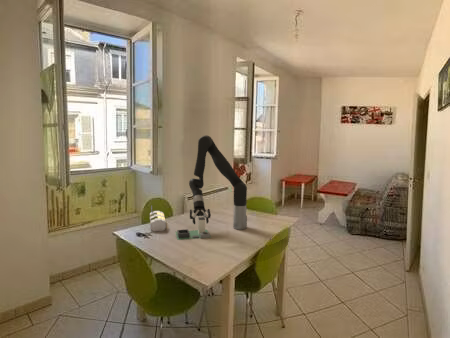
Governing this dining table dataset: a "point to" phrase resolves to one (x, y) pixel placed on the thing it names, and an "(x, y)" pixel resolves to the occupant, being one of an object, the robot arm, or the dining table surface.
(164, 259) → the dining table surface
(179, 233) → the board
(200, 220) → the plug
